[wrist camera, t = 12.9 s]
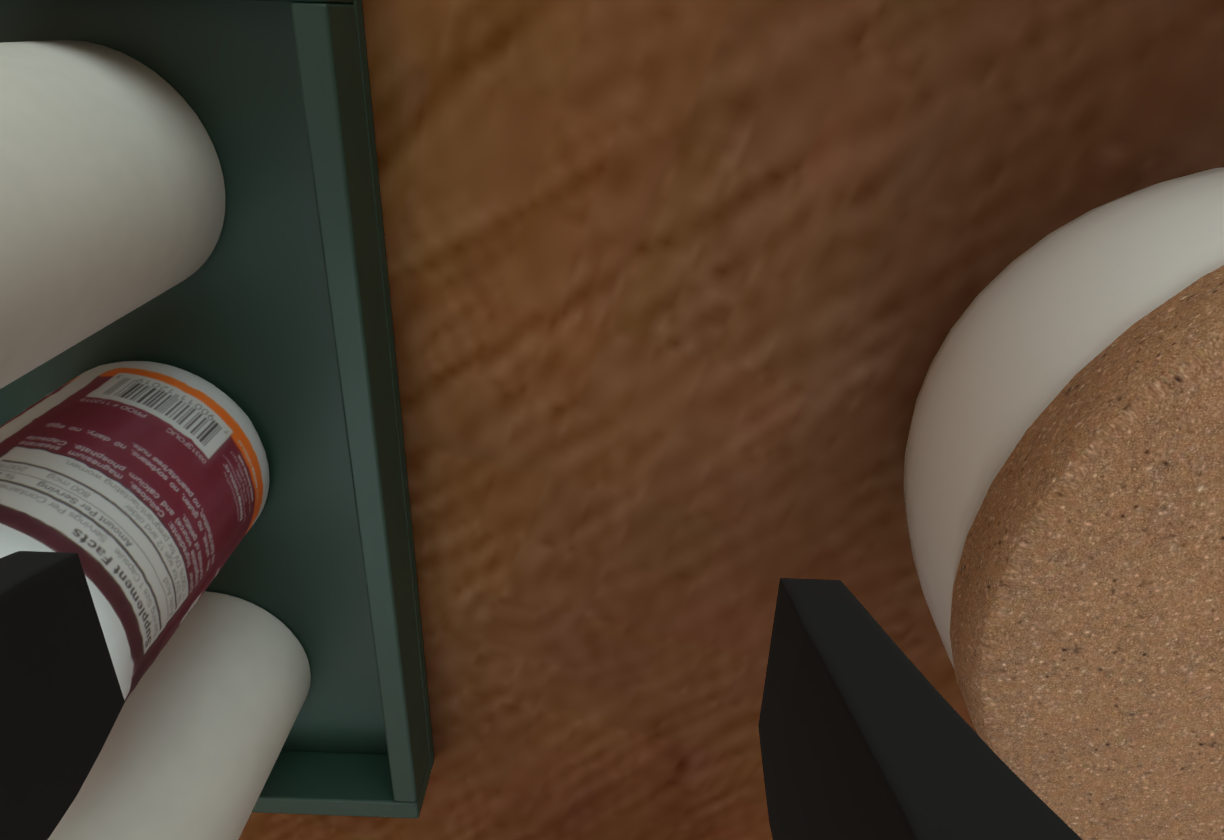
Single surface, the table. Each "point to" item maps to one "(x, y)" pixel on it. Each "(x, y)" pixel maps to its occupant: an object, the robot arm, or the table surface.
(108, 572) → the pill bottle
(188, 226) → the pale bottle near
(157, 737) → the pale bottle far
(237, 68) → the tray
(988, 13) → the table surface
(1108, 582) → the trinket box
